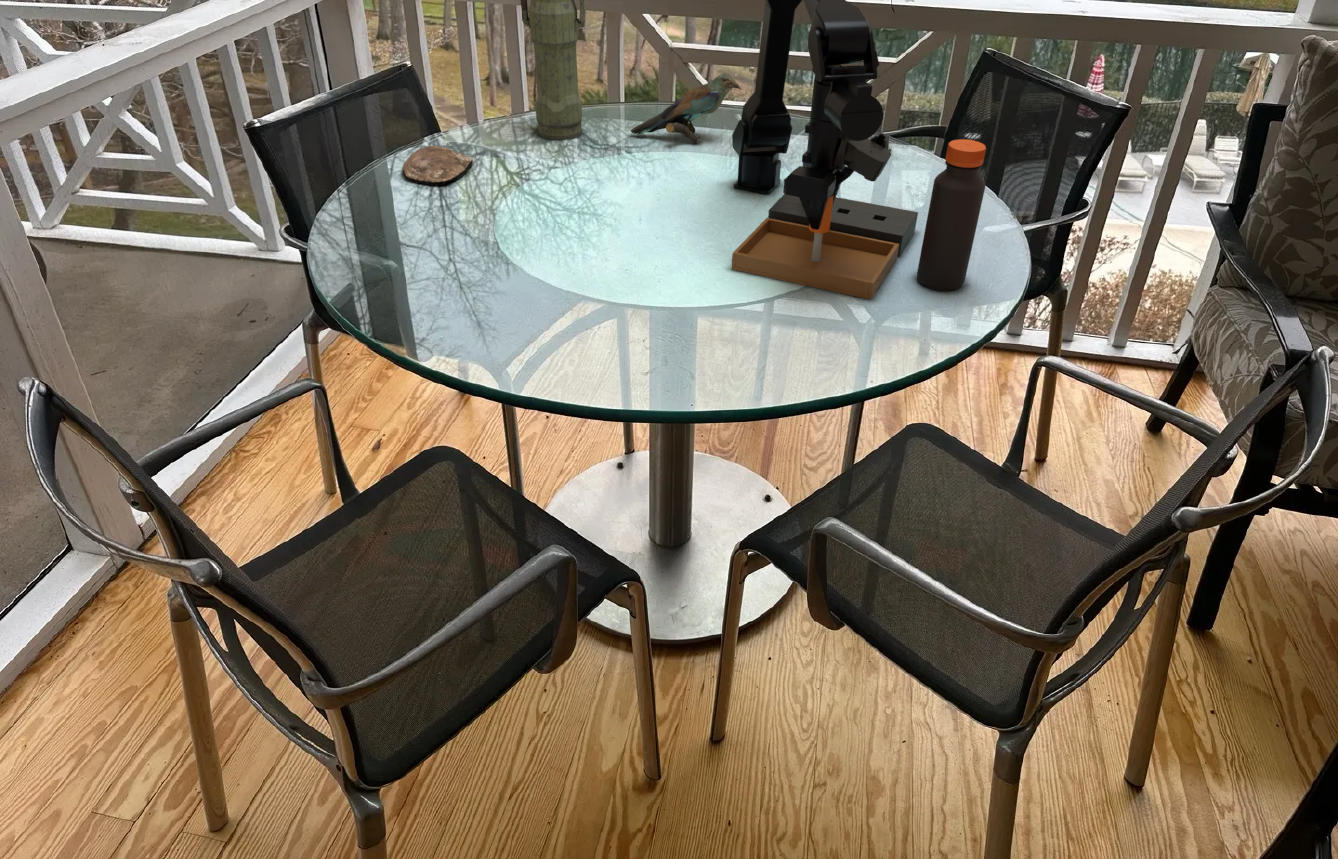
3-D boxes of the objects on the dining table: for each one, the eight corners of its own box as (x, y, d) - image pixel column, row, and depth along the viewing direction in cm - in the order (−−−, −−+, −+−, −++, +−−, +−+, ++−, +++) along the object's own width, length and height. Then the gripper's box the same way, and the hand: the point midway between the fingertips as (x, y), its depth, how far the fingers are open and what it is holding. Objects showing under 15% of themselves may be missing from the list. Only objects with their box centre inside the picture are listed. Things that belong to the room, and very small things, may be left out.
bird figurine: (624, 141, 180) (679, 50, 169) (633, 125, 188) (686, 38, 177) (682, 180, 182) (741, 93, 172) (688, 163, 190) (744, 79, 180)
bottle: (973, 288, 134) (1003, 151, 122) (930, 294, 133) (957, 156, 121) (948, 267, 140) (976, 134, 128) (907, 273, 138) (931, 138, 126)
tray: (731, 269, 139) (732, 252, 137) (765, 232, 149) (766, 217, 147) (871, 299, 131) (873, 283, 130) (896, 259, 142) (899, 243, 140)
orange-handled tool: (802, 262, 139) (810, 191, 133) (809, 254, 141) (816, 184, 135) (822, 266, 138) (830, 195, 132) (828, 258, 140) (836, 187, 134)
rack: (899, 257, 142) (902, 235, 140) (767, 230, 150) (768, 209, 148) (914, 232, 150) (918, 211, 147) (787, 208, 157) (789, 188, 155)
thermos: (532, 124, 190) (517, -70, 169) (590, 125, 190) (583, -69, 169) (527, 139, 182) (511, -61, 162) (588, 140, 183) (580, -61, 162)
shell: (388, 180, 165) (385, 160, 163) (423, 155, 175) (420, 136, 173) (448, 187, 162) (445, 167, 160) (479, 162, 172) (477, 143, 170)
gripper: (870, 146, 117) (855, 260, 127) (907, 105, 131) (890, 210, 140) (786, 132, 121) (777, 244, 131) (830, 94, 135) (819, 197, 144)
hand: (819, 223), depth 136 cm, fingers open, 4 cm apart
